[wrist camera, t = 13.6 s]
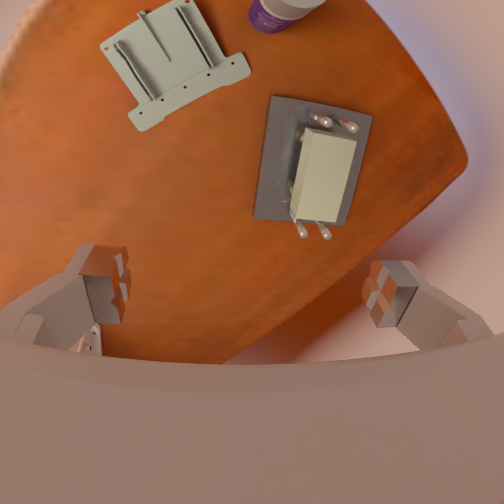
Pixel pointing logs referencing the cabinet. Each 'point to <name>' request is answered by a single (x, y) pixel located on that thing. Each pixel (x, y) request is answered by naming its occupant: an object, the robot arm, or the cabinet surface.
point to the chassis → (288, 154)
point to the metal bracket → (170, 61)
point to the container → (279, 13)
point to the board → (321, 175)
